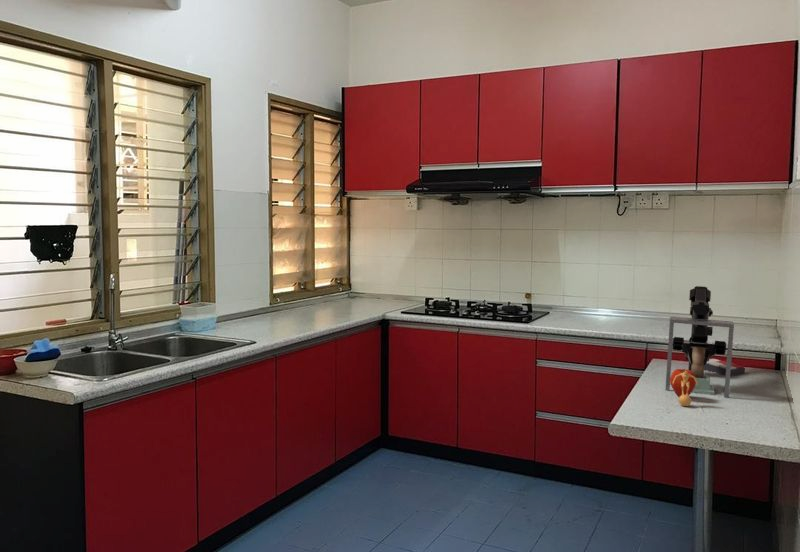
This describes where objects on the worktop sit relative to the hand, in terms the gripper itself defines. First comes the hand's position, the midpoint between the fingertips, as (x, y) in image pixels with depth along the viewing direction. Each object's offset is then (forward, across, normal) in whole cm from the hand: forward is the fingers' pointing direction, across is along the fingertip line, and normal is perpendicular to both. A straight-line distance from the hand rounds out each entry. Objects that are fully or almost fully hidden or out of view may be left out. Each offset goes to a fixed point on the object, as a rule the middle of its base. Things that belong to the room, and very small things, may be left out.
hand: (698, 363), depth 243 cm
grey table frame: (+9, 0, +5) cm, 11 cm away
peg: (+4, 0, +6) cm, 7 cm away
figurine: (+26, -4, -11) cm, 28 cm away
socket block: (+6, 0, +8) cm, 10 cm away
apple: (+18, -5, -4) cm, 20 cm away
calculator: (-22, +10, +37) cm, 44 cm away
